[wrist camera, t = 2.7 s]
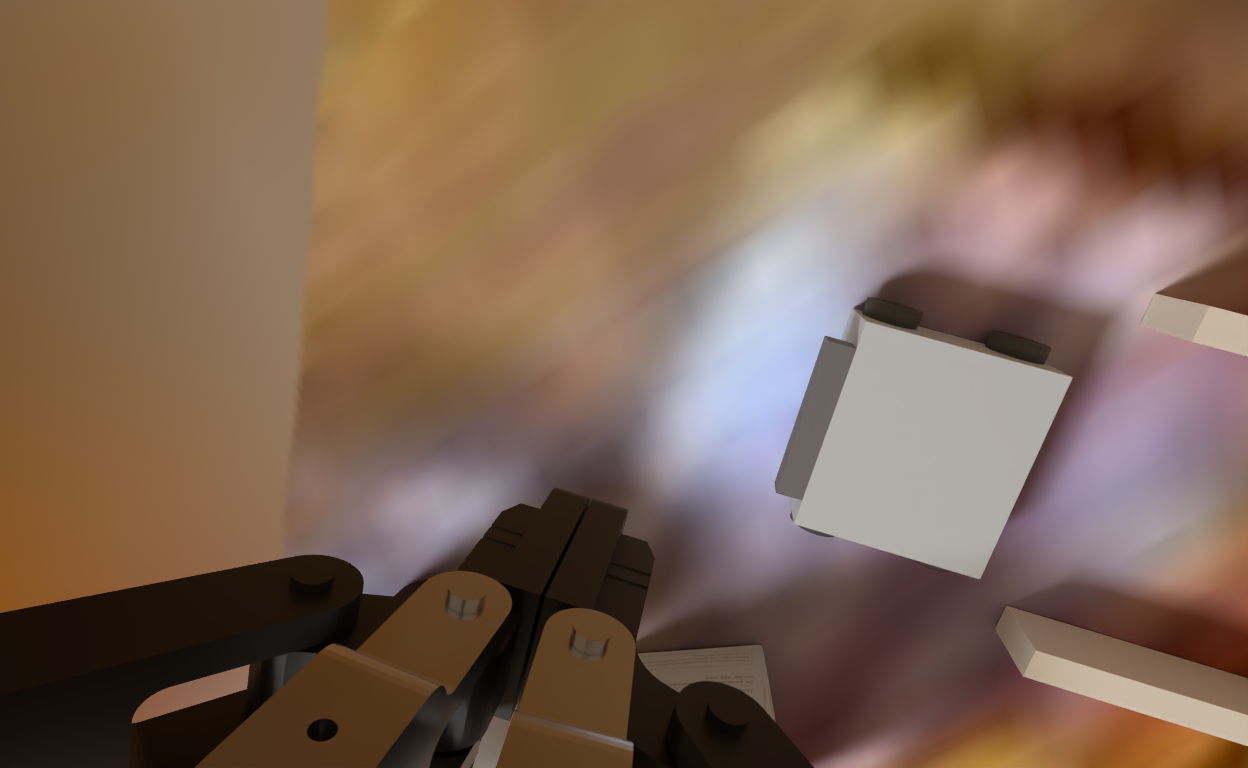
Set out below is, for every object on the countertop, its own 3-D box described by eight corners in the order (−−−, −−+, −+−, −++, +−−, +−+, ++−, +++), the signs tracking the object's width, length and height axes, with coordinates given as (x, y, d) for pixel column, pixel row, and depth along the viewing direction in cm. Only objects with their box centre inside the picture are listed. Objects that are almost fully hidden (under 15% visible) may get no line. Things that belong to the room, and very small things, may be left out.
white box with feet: (832, 286, 27) (843, 296, 24) (1042, 342, 26) (1080, 360, 23) (760, 497, 29) (763, 529, 26) (949, 553, 28) (973, 593, 26)
